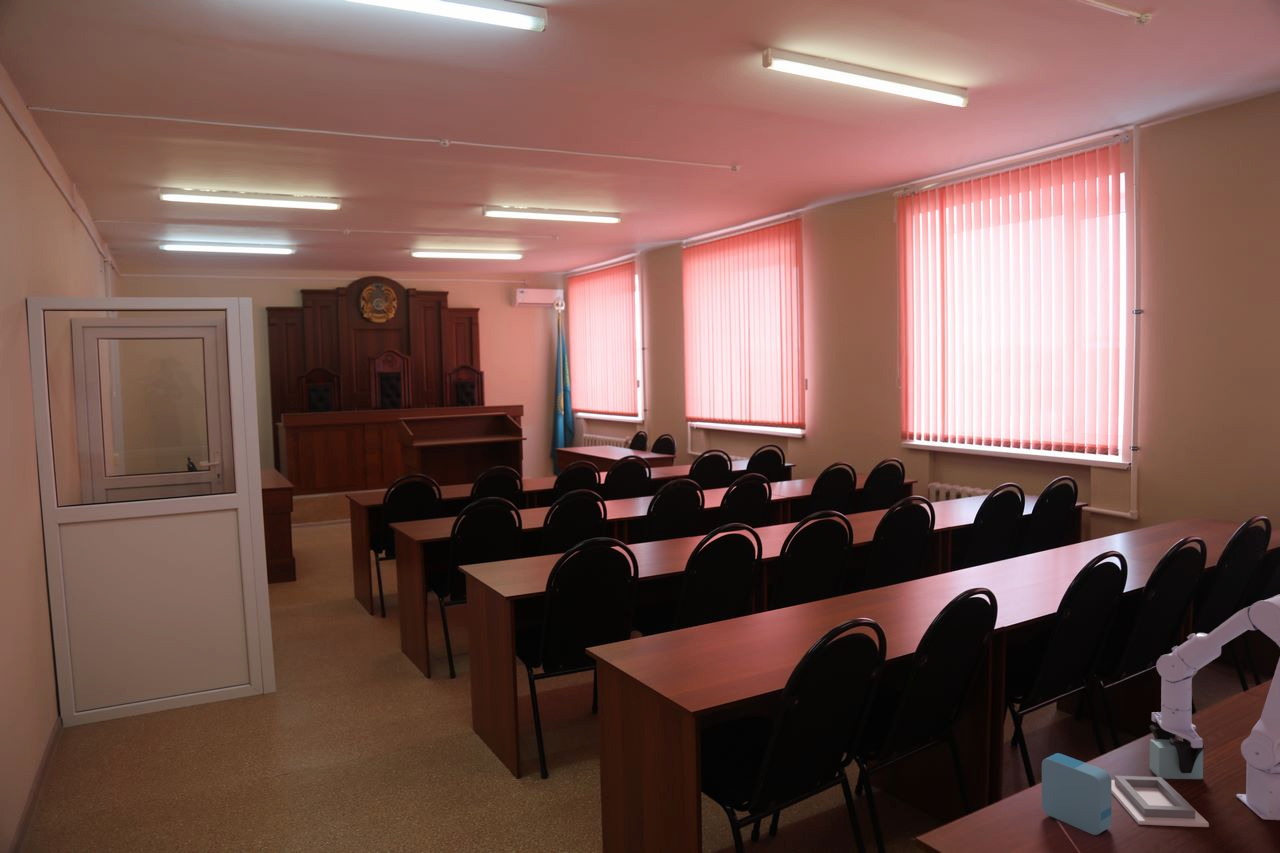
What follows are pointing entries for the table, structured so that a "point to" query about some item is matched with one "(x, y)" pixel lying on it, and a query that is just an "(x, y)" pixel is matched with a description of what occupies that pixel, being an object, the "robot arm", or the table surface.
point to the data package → (1076, 793)
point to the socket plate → (1154, 802)
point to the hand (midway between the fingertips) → (1175, 765)
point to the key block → (1171, 760)
